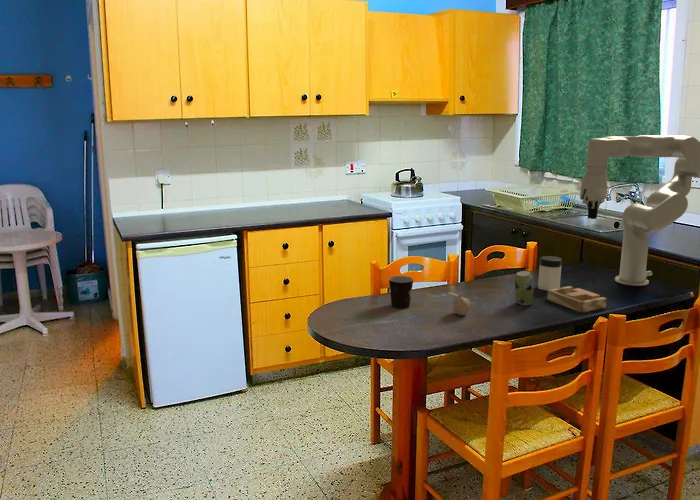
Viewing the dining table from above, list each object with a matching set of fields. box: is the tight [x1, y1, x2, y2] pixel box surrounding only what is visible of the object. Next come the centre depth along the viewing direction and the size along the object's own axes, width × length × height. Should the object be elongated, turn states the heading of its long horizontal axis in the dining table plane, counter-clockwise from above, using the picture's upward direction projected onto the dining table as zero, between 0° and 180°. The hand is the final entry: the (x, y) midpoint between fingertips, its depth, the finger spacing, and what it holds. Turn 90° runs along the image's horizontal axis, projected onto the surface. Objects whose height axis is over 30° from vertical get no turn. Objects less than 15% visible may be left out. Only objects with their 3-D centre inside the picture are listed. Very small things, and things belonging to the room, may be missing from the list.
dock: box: [546, 285, 608, 313], centre depth 232 cm, size 12×17×4 cm
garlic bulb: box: [451, 294, 471, 317], centre depth 220 cm, size 7×6×8 cm
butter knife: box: [447, 291, 470, 301], centre depth 236 cm, size 1×24×3 cm
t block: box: [565, 287, 601, 301], centre depth 233 cm, size 10×10×4 cm
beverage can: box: [514, 270, 534, 306], centre depth 231 cm, size 6×7×12 cm
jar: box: [537, 255, 563, 292], centre depth 250 cm, size 9×8×12 cm
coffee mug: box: [388, 275, 414, 310], centre depth 228 cm, size 12×9×10 cm
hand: (592, 218), depth 249 cm, fingers closed
